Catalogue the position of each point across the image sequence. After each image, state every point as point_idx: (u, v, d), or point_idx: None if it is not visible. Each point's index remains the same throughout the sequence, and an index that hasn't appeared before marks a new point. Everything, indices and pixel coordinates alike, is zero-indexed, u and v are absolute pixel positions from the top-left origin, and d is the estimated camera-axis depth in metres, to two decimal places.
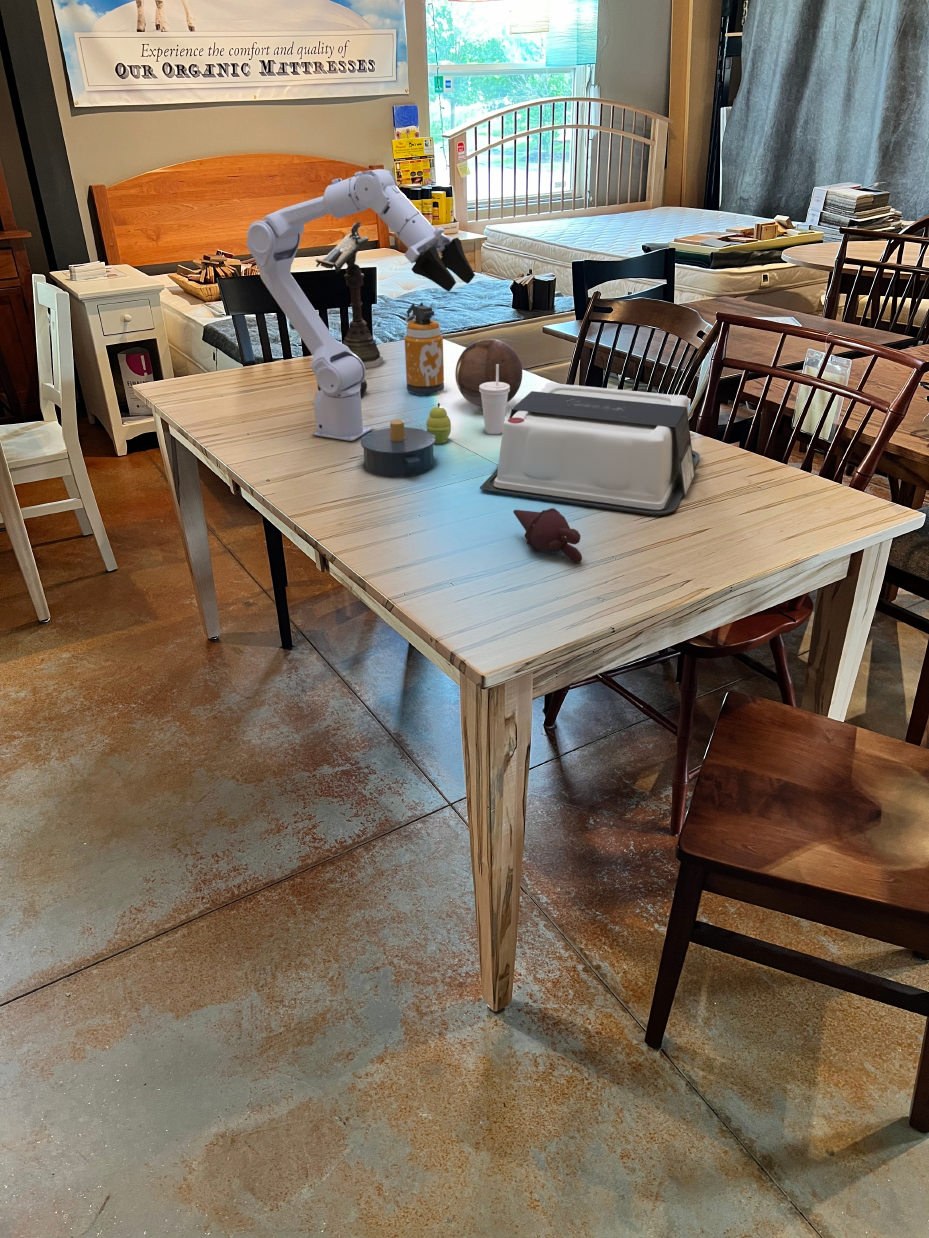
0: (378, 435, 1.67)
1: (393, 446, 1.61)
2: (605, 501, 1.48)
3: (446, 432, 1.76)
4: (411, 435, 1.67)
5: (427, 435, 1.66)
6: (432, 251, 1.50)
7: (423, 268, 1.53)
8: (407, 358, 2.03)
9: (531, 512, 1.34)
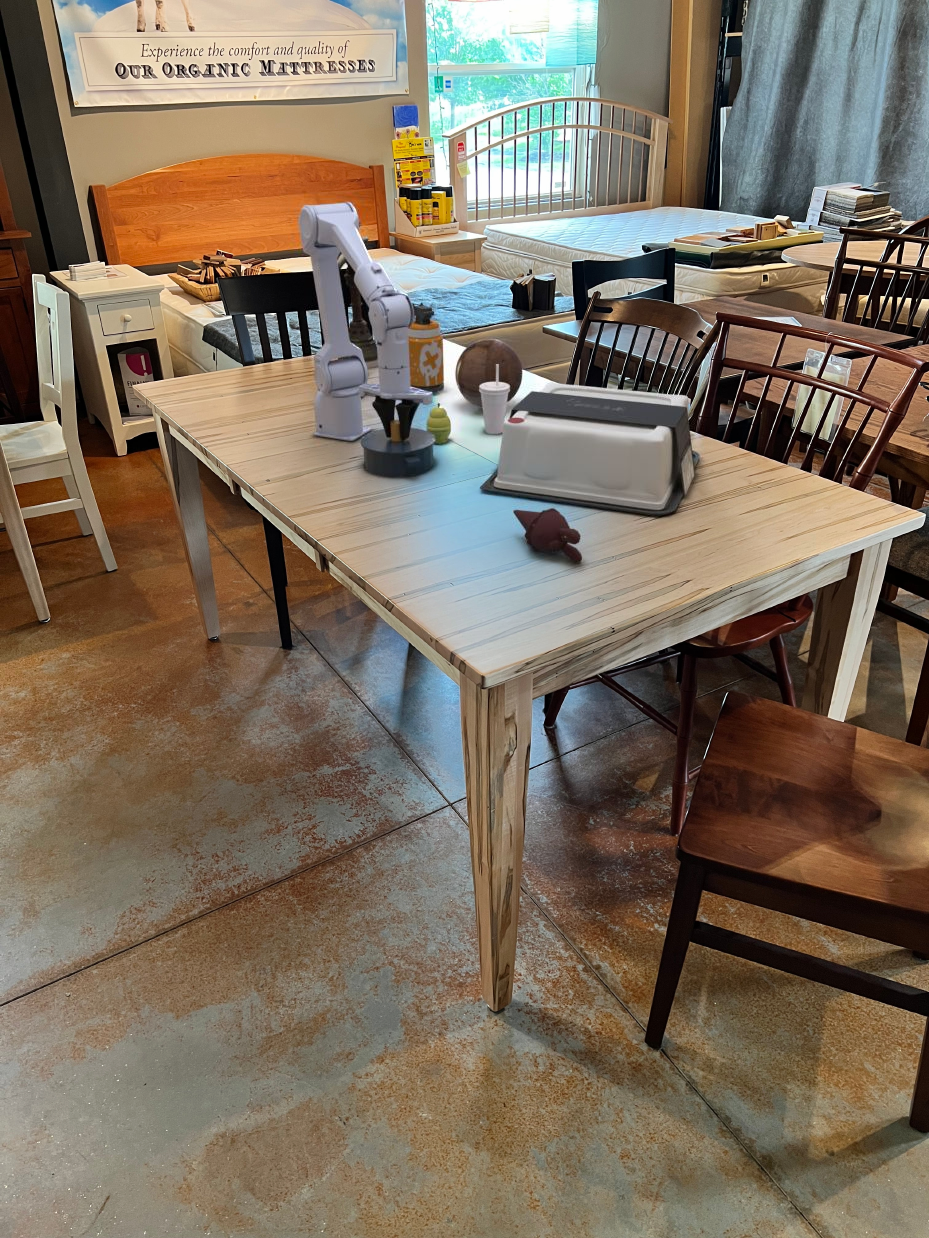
0: (378, 435, 1.67)
1: (393, 446, 1.61)
2: (605, 501, 1.48)
3: (446, 432, 1.76)
4: (411, 435, 1.67)
5: (427, 435, 1.66)
6: (375, 407, 1.61)
7: None
8: None
9: (531, 512, 1.34)
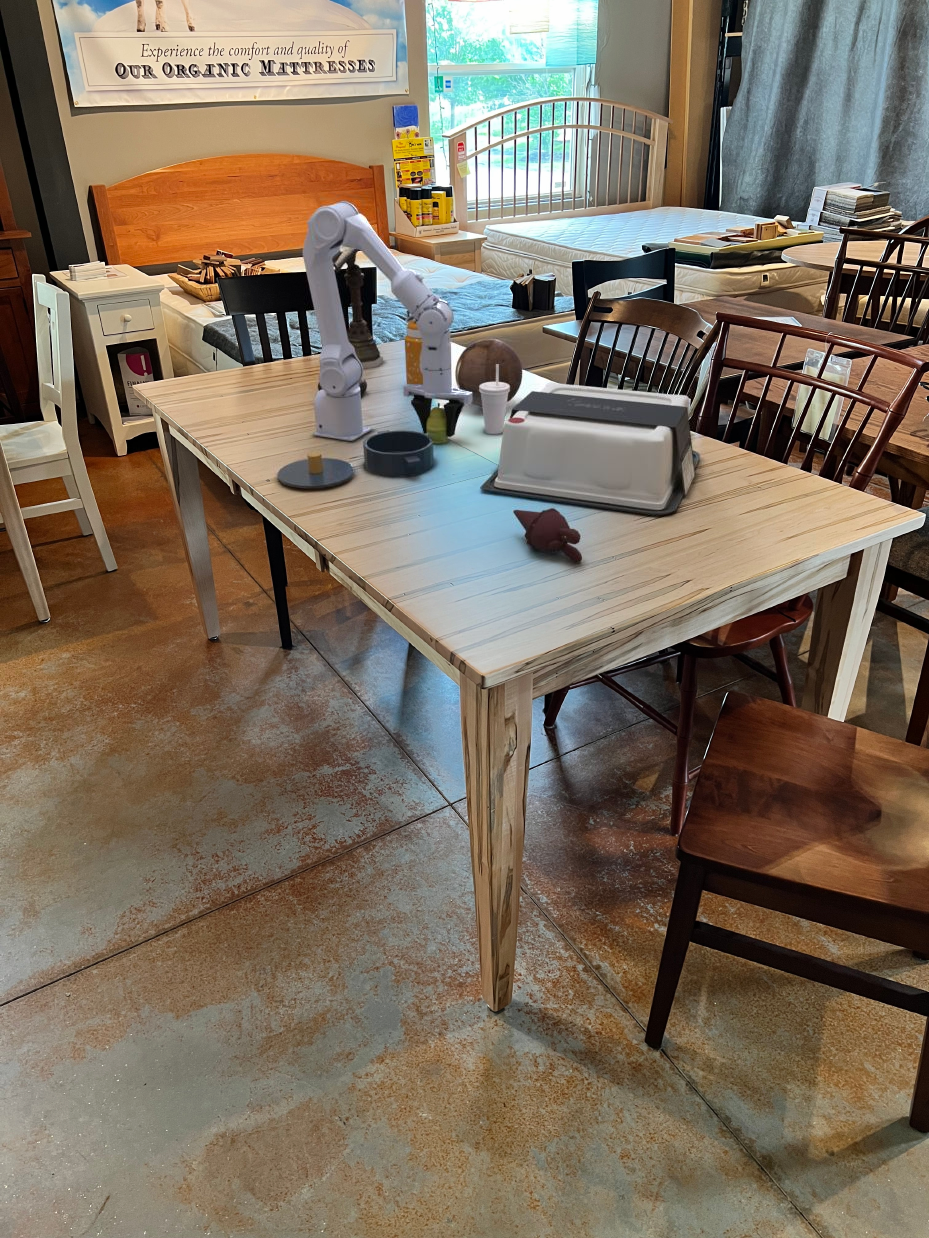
0: (297, 467, 1.64)
1: (309, 479, 1.58)
2: (606, 501, 1.48)
3: (446, 432, 1.76)
4: (330, 467, 1.63)
5: (346, 467, 1.63)
6: (414, 405, 1.74)
7: None
8: (407, 358, 2.03)
9: (531, 512, 1.34)
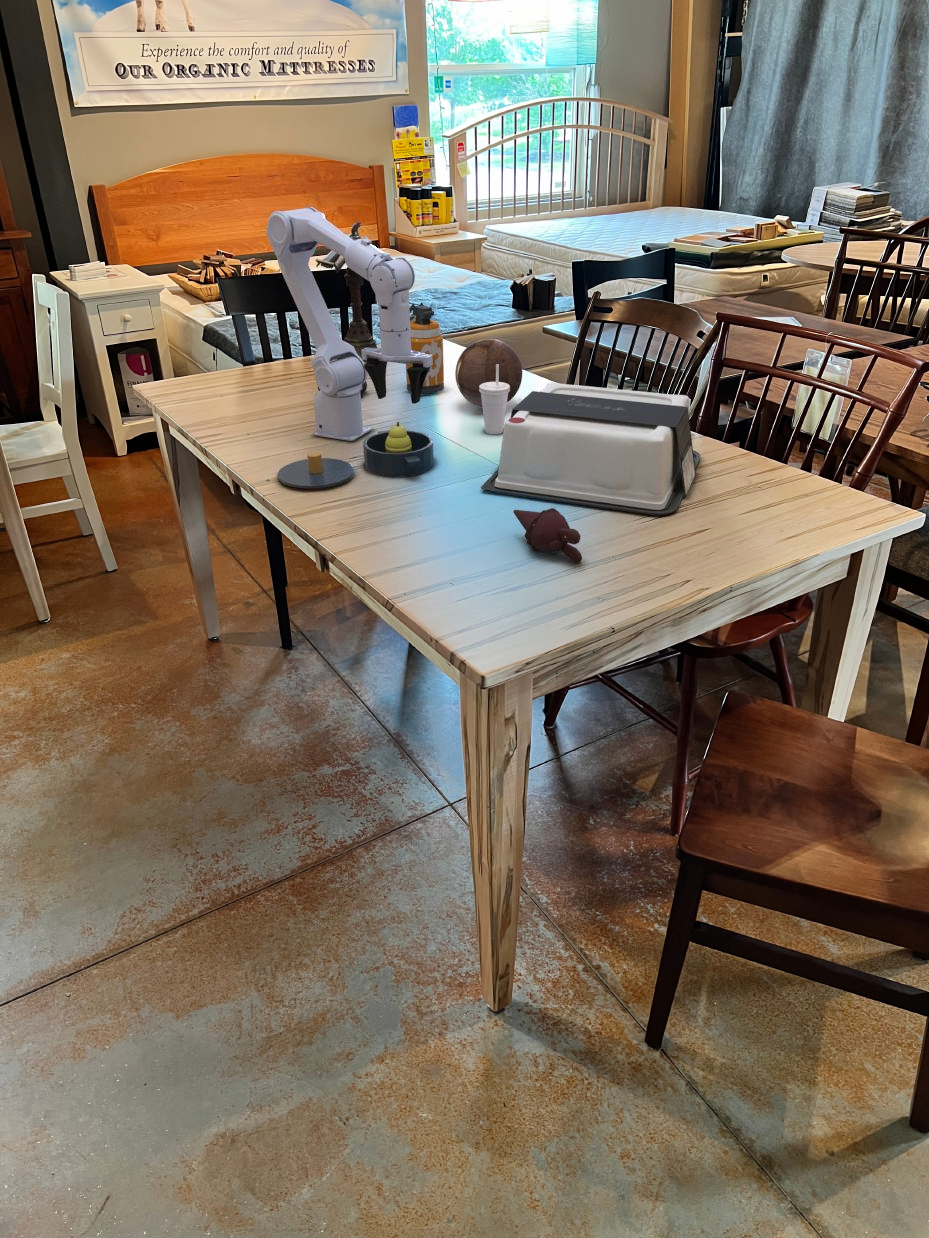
0: (297, 467, 1.64)
1: (309, 479, 1.58)
2: (606, 501, 1.48)
3: None
4: (330, 467, 1.63)
5: (346, 467, 1.63)
6: (367, 368, 1.67)
7: None
8: None
9: (531, 512, 1.34)
